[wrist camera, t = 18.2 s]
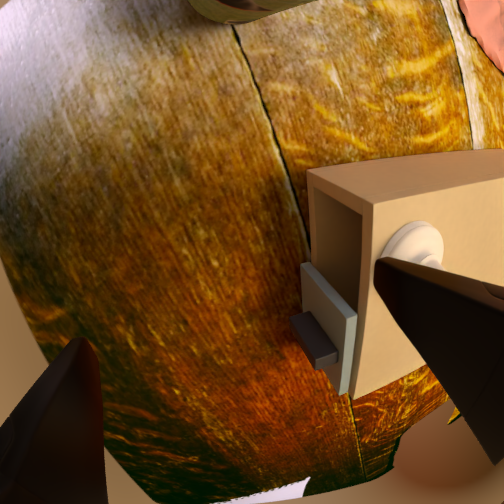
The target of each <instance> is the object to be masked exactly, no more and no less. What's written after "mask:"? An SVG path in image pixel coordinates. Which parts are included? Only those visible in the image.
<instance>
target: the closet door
mask: <svg viewBox="0 0 504 504" xmlns="http://www.w3.org/2000/svg"><path fill="white" fill-rule="evenodd" d="M300 271H301V289H302V309H303V313H300V314H297V315H294V316H291V317H289V326H290V329H291V331H292V333H293V334H294V336H295V338H296V340H297V341H298V343H299V345H300V346H301V348H302V350H303V351H304V353H305V355H306V356H307V358H308V360H309V361H310V363H311V365H312V366H313V368H314V370H315V371H316V370H319V369H323V371H324V372H325V374H326V375H327V377H328V379H329V380H330V382H331V383H332V385H333V387H334V388H335V390H336V391H337V393H338V395H342V394H344V393H346V392H348V388H349V381H350V374H351V367H352V359H353V351H354V343H355V334H356V324H357V314H356V313H355V312H354V310H353V309H352V308H351V307H350V306H349V305H348V304H347V303H346V301H345V300H344V299H343V298H342V297H341V296H340V295H339V294H338V293H337V291H336V290H335V289H334V288H333V287H332V286H331V285H330V284H329V283H328V282H327V280H326V279H325V278H324V277H323V276H322V275H321V274H320V273H319V272H318V271H317V270H316V268H315V267H314V266H313V265H312V264H311V263H310V262H306V263H302V264H300Z"/></svg>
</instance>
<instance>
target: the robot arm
mask: <svg viewBox="0 0 504 504" xmlns="http://www.w3.org/2000/svg"><path fill="white" fill-rule="evenodd" d="M373 285H374V288H375V290H376V291H377V293H378V294H379V296H380V298H381V299H382V301H383V302H384V304H385V306H386V307H387V309H388V310H389V312H390V314H391V315H392V317H393V319H394V320H395V322H396V323H397V325H398V326H399V327H400V329H401V330H402V331H403V333H404V334H405V335H406V337H407V338H408V339H409V341H410V342H411V343H412V345H413V346H414V347H415V349H416V350H417V351H418V353H419V354H420V356H421V357H422V358H423V360H424V361H425V362H426V364H427V365H428V367H429V368H430V369H431V371H432V372H433V374H434V375H435V376H436V378H437V379H438V381H439V382H440V384H441V385H442V386H443V388H444V389H445V391H446V392H447V394H448V395H449V397H450V398H451V399H452V401H453V403H454V404H455V405H456V407H457V408H458V410H459V411H460V413H461V414H462V416H463V417H464V419H465V421H466V422H467V424H468V425H469V427H470V429H471V430H472V432H473V433H474V435H475V436H476V438H477V440H478V441H479V443H480V444H481V446H482V447H483V449H484V451H485V453H486V454H487V456H488V457H489V459H490V461H491V462H492V464H493V465H494V466H495V465H496V464H498V463H499V462H500V461H501V460H502V459H503V458H504V287H503V286H499V285H495V284H491V283H488V282H484V281H480V280H477V279H473V278H469V277H466V276H462V275H458V274H454V273H451V272H447V271H443V270H439V269H435V268H431V267H428V266H424V265H420V264H416V263H412V262H408V261H404V260H400V259H396V258H392V257H388V256H386V257H382V258H379V259H377V260H376V261H375V264H374V276H373ZM0 504H108V496H107V486H106V474H105V460H104V439H103V404H102V394H101V384H100V372H99V362H98V358H97V356H96V354H95V352H94V351H93V349H92V347H91V345H90V344H89V342H88V340H87V339H86V338H85V337H78V338H73V339H72V340H71V341H70V342H69V343H68V344H67V345H66V346H65V347H64V349H63V350H62V351H61V352H60V353H59V354H58V356H57V357H56V358H55V359H54V360H53V361H52V363H51V364H50V365H49V366H48V367H47V369H46V370H45V371H44V372H43V374H42V375H41V376H40V377H39V378H38V380H37V381H36V382H35V383H34V385H33V386H32V387H31V388H30V389H29V391H28V392H27V393H26V394H25V396H24V397H23V398H22V400H21V401H20V402H19V403H18V405H17V406H16V407H15V409H14V410H13V411H12V413H11V414H10V417H8V418H7V419H6V420H5V422H4V423H3V424H2V426H1V427H0ZM502 504H504V502H503V503H502Z"/></svg>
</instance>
